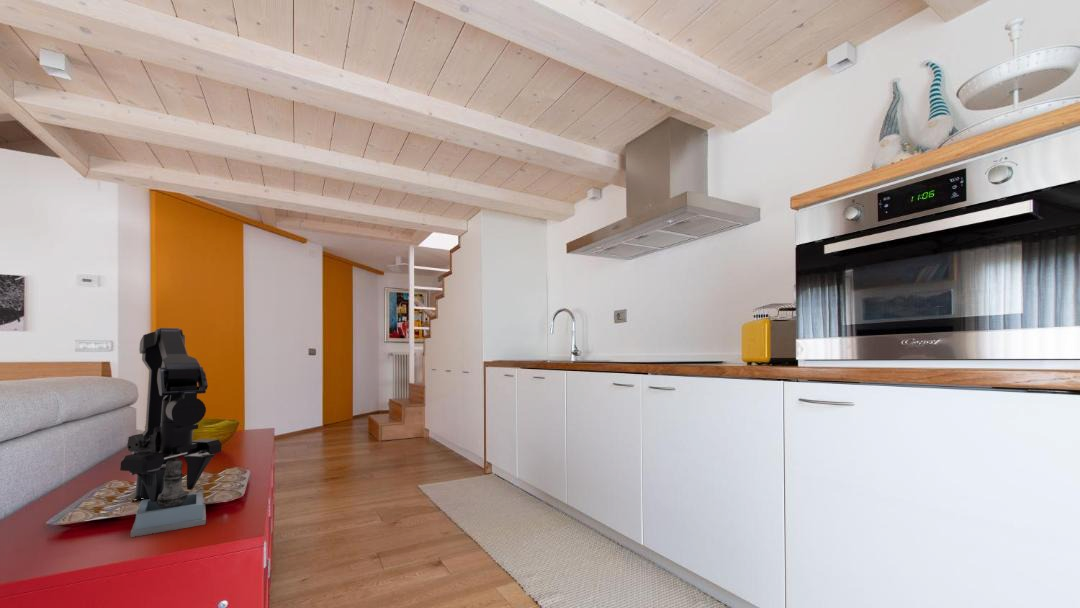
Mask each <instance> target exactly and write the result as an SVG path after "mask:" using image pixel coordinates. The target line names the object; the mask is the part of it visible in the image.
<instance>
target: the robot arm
mask: <svg viewBox="0 0 1080 608" xmlns="http://www.w3.org/2000/svg"><path fill="white" fill-rule="evenodd" d="M138 350H139V354H142V355H141V361H142V362H143V364H144V365H145V367H146V368H147V369H148V384H147V397H146V398H147V399H146V401H147V402H146V412H145V413H146V415H145V429H144V431H143V432H142V433H139V434H138V433H137V434H133V435H130V436H128V439H127V444H126V445H127V449H128V450H127V451H129V452H130V453H131V454H127V455H124V457H123V458H122V459H121V460H120V469H119V471H122V472H128V473H129V474H130V475H131V476H134V475H136V482H135V483H136V485H135V492H133V493H134V494H133V496H132V498H131V500H132V499H141V498H149V499H150V501H151V502H156V501H157V499H158V496H159V494H161V493H162V491H163V488H164V479H163V478H164V476H165V470H166V463H167V461H169V460H171V459H175V458H178V459H179V458H183V459H184V462H185V463H186V489H187V491H193V489H194V488H195V486H196V484H198V482H199V479H200V478H201V476H202V474H203V472H204V471H205V469H206V467H207V466H208V465H209V464H210V462H211V460H213V458H215V457H216V455H215V454H218V453H221V452H222V442H221V441H220V440H219V439H218V438H217V439H216V438H211V439H210V438H200V439H195V440H193V439H194V431H195V430H198V429H199V423H200V422H201V421H202V420H203V418H204V417H205V415H206V412H207V408H206V405H205V402H203V401H202V400H201V399H200V398H198V394H199V395H201V394H206V393H207V391H206V390H208V386H209V385H208V379H207V374H206V371H204V367H203V366H201V365H200V362H199V361H198V359H197V358H195V357H193V356H190V355H188V351H187V348H186V335H185V334H184V332H183V329H182V328H181V329H180V328H178V327H177V328H173V327H172V328H171V327H159V328H156V329H155V330H154V331H152V332H148V333H145V334H143V335H142V337H141V338H140V341H139V349H138Z"/></svg>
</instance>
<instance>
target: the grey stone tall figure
mask: <svg viewBox="0 0 1080 608" xmlns="http://www.w3.org/2000/svg"><path fill="white" fill-rule="evenodd" d="M184 475H185V474H183V459H180V458H179V457H178V458H175V459H171V460H169V461H167V463H166V470H165V476H164V478H163V479H164V488H163V491H162V493H161V494H159V496H158V499H157V501H156V503H157V505H158V507H160V508H162V509H166V508H172V507H179V506H181V505H182V504H183V503H184V502H185V501H186V499H187V495H188V494H190V491H189V490H184V489H183V487H182V486H183V485H182V481H183V478H184V477H185V476H184Z"/></svg>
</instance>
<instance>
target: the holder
mask: <svg viewBox="0 0 1080 608" xmlns="http://www.w3.org/2000/svg"><path fill="white" fill-rule="evenodd" d="M206 510H207V509H206V504H205V503H204V491H199V492H193V493H192V492H191V493H190V492H189V494H188V495H187V499H186V501H185V502H184V503H183V504H182V505H181V506H179V507H172V508H166V509H162V508H160V507H158V505H157V503H156V502H151V501H150V499H143V500H140V503H139V506H138V509H137V511H136V514H135V520H134V521H133V522H134V523H133V524H132V528H131V530H130V538H135V536H136V537H140V536H146V535H152V533H153V534H157V533H164V532H170V531H174V530H176V531H177V530H181V529H186V528H192V527H198V526H203V525H204V526H205V525H206V524H207V523H206V522H207V514H206Z"/></svg>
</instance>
